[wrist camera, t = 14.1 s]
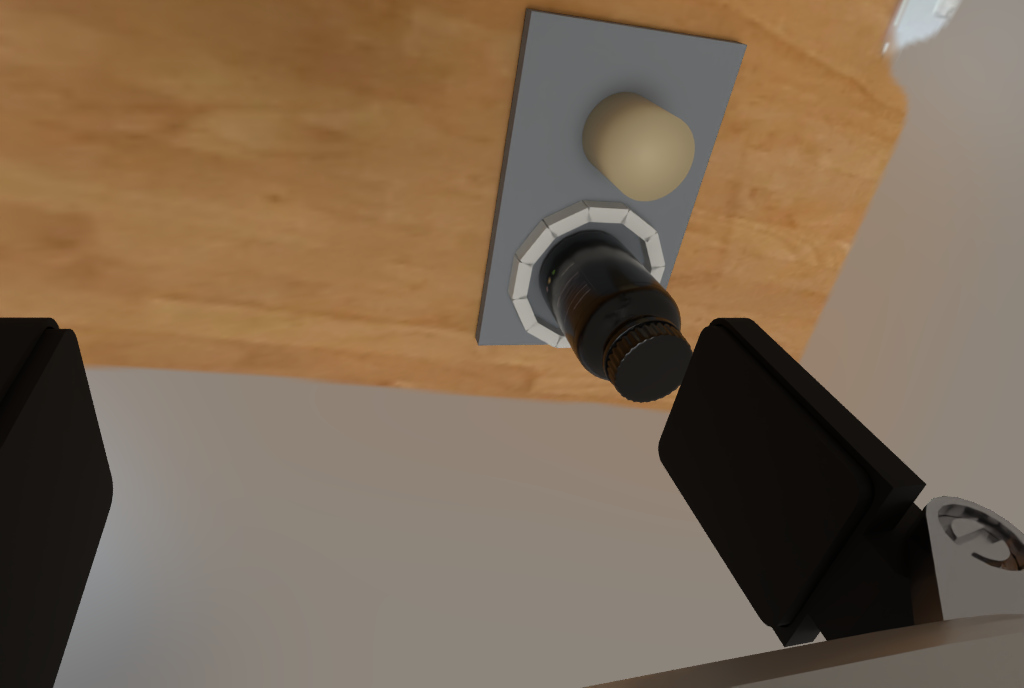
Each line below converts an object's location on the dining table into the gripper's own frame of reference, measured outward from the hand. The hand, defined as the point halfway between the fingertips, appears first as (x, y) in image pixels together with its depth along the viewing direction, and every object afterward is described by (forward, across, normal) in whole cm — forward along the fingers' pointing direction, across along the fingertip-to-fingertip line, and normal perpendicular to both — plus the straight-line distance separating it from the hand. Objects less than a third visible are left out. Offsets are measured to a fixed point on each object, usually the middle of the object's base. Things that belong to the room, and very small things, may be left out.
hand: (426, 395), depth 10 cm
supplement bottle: (+30, -17, +13) cm, 36 cm away
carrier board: (+30, -17, +8) cm, 36 cm away
